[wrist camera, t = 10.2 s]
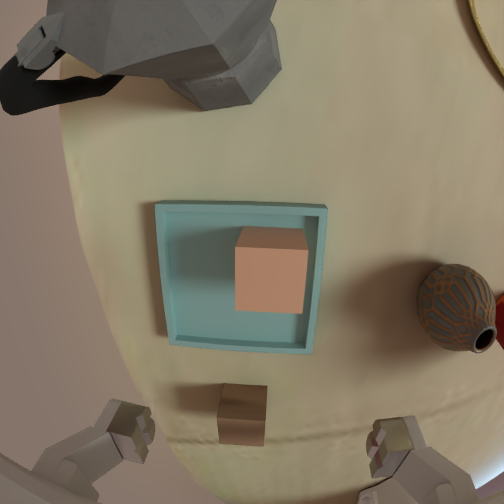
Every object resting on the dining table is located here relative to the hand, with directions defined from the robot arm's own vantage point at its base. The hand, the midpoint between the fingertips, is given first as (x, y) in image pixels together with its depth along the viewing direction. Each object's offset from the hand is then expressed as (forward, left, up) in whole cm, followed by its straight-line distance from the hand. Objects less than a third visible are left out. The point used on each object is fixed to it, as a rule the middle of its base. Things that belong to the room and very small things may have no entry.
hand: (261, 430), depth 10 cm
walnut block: (-16, +2, -17) cm, 24 cm away
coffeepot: (+16, +5, -17) cm, 24 cm away
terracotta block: (+1, 0, -16) cm, 16 cm away
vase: (-2, -16, -17) cm, 23 cm away
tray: (-2, +3, -17) cm, 17 cm away
